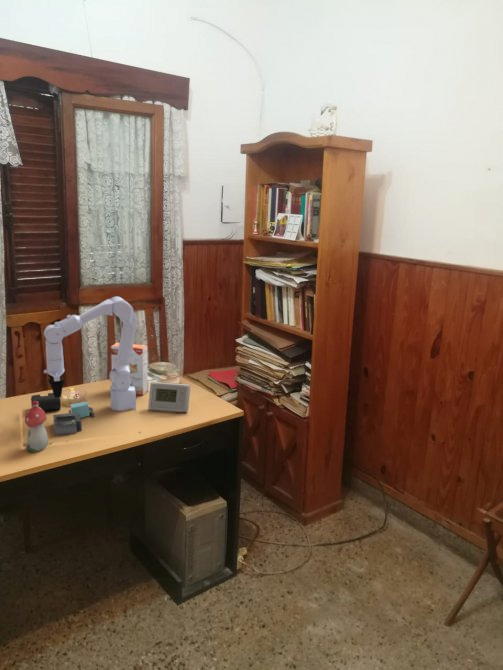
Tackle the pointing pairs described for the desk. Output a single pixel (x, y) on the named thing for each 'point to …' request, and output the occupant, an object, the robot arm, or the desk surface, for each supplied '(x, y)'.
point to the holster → (90, 411)
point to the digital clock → (169, 397)
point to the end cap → (47, 402)
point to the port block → (67, 423)
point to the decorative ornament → (36, 428)
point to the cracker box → (135, 367)
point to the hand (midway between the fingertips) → (57, 393)
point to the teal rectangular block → (81, 409)
